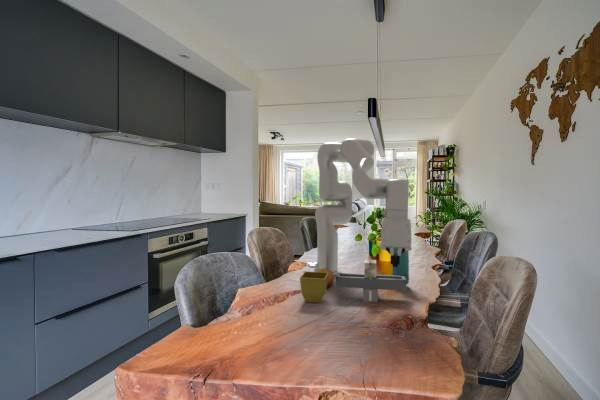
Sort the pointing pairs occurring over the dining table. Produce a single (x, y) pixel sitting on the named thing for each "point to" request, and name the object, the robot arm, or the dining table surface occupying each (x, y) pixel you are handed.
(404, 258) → the beverage bottle
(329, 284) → the fruit
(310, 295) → the flower pot
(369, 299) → the beam
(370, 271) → the rider
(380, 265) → the dining table surface
